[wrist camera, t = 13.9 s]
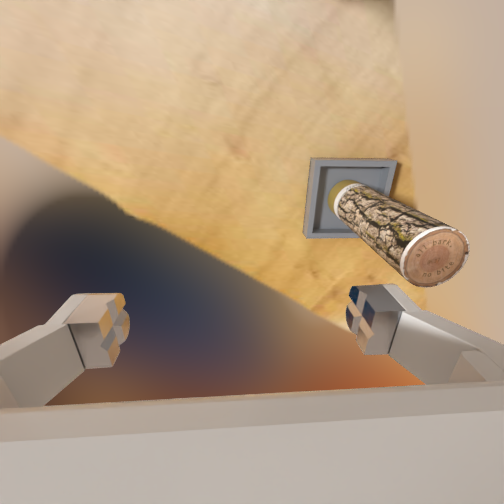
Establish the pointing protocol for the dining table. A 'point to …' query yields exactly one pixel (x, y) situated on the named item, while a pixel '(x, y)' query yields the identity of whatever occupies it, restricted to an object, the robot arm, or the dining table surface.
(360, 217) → the paper tube
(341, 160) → the tray
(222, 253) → the dining table surface
